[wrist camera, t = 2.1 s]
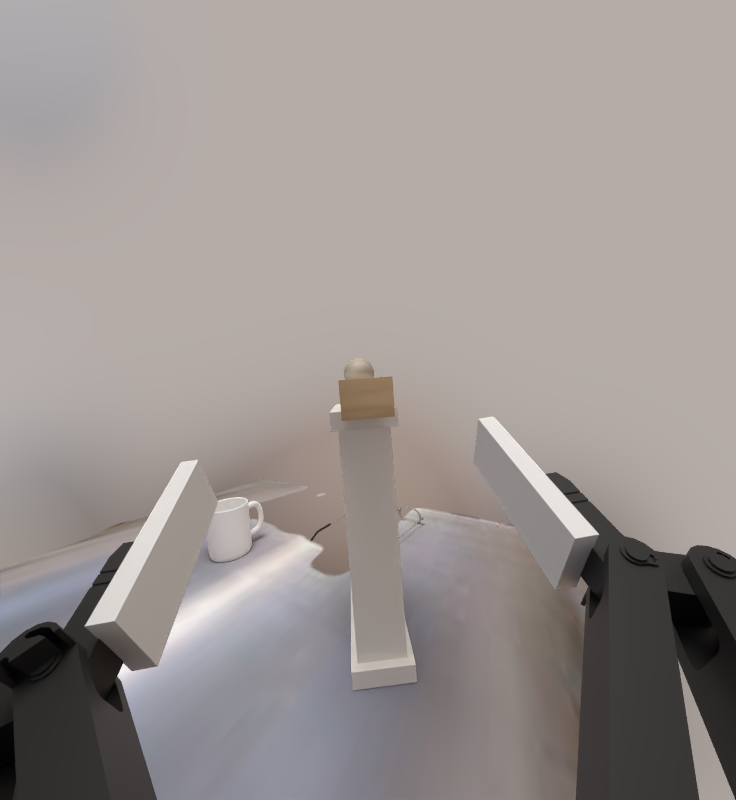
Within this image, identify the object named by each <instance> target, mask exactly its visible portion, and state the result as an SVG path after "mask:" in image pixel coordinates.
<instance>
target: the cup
mask: <svg viewBox="0 0 736 800" xmlns="http://www.w3.org/2000/svg"><path fill="white" fill-rule="evenodd" d="M254 506H255V507H256V509H257V511H258V516H259V519H258V524H257V525H256V527H254V528H253V529H251V528H250V518H249V509H250V508H251V507H254ZM262 524H263V510H262V507H261V505H260V503H258V502H257V501H252V502H249V503H248V500H247V499H246V498H241V497H235V498H228V499H223V500H219V501H218V504H217V507H216V510H215V512H214V515H213V518H212V521H211V523H210V526H209V529H208V531H207V542H208V551H209V557H210V558H211V560H212V561H214V562H228V561H232V560H235V559H238V558H240V557H242V556H244V555H245V554H247V553H248V552H249V550H250V549H251V546H252V538H251V536H252V535H254V534H255V533H257V532H258V531H259V530H260V528H261V526H262Z"/></svg>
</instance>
